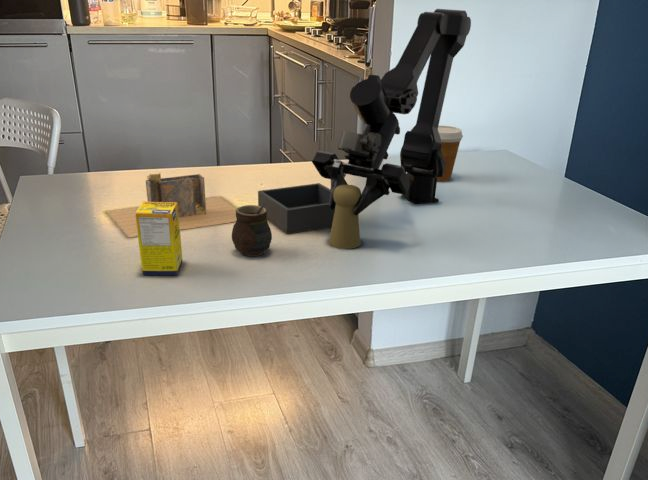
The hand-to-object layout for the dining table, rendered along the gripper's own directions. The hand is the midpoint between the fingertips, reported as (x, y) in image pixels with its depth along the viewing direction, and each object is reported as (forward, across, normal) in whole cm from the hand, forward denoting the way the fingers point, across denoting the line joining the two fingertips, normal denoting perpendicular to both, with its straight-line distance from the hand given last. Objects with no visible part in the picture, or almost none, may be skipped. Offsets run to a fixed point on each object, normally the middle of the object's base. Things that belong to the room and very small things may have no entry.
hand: (342, 211), depth 124 cm
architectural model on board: (+9, -36, 0) cm, 37 cm away
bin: (-1, -14, +10) cm, 18 cm away
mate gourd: (+14, -11, -4) cm, 18 cm away
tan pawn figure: (+4, 0, +6) cm, 7 cm away
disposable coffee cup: (-34, -4, +43) cm, 55 cm away
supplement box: (+25, -19, -15) cm, 35 cm away
